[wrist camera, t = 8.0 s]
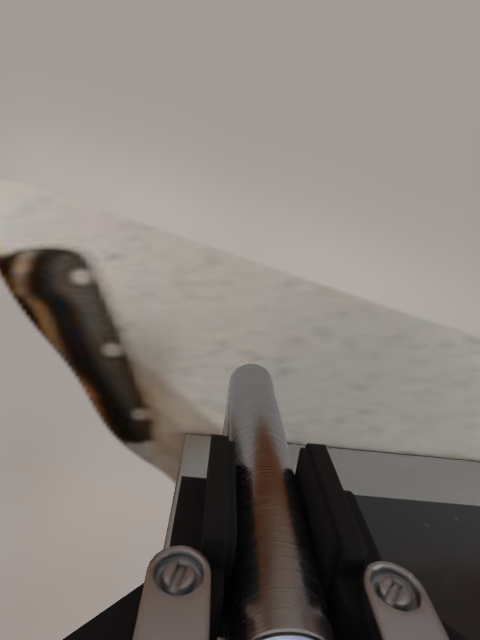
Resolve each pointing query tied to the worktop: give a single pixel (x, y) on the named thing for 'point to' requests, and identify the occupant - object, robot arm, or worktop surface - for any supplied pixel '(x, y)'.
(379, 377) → the worktop surface
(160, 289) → the worktop surface
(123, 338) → the worktop surface
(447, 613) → the microwave door
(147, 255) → the worktop surface
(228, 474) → the robot arm
